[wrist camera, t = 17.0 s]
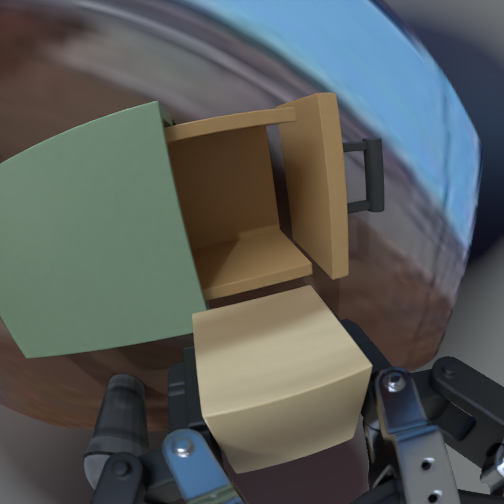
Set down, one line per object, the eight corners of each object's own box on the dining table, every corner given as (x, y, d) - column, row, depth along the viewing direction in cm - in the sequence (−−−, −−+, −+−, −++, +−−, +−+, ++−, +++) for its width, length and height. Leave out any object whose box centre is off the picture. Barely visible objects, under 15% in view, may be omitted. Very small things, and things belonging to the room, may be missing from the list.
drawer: (342, 103, 21) (400, 95, 14) (352, 225, 25) (404, 258, 18) (119, 138, 18) (83, 138, 11) (154, 271, 23) (143, 326, 16)
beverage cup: (125, 357, 27) (109, 533, 9) (168, 391, 30) (179, 546, 12) (87, 378, 27) (62, 527, 9) (129, 409, 30) (126, 545, 12)
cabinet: (171, 117, 20) (158, 100, 11) (203, 261, 25) (212, 328, 16) (22, 170, 18) (-46, 194, 9) (64, 294, 23) (26, 358, 14)
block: (191, 313, 10) (201, 417, 6) (310, 283, 10) (373, 365, 6) (218, 388, 11) (236, 474, 7) (312, 363, 12) (353, 438, 8)
